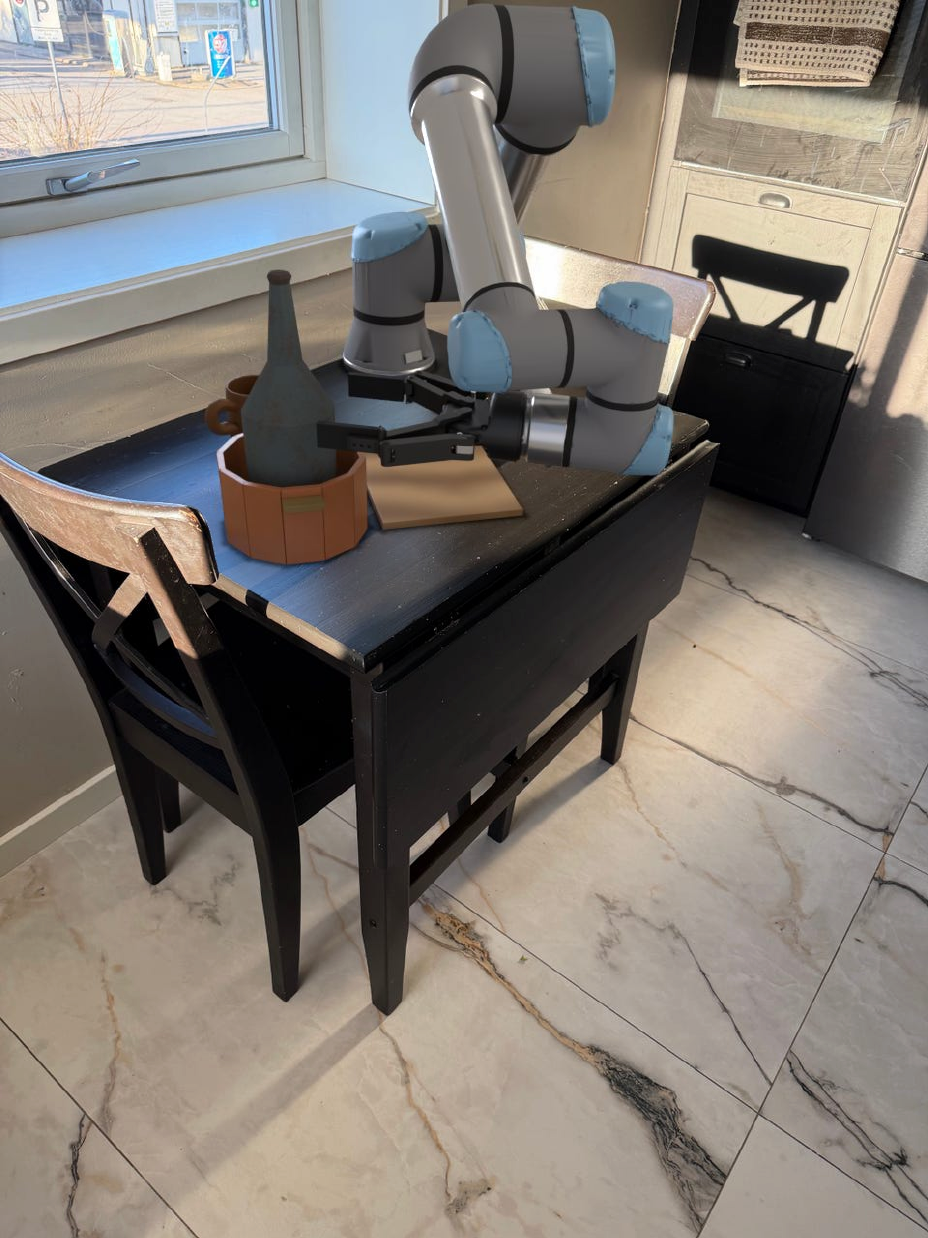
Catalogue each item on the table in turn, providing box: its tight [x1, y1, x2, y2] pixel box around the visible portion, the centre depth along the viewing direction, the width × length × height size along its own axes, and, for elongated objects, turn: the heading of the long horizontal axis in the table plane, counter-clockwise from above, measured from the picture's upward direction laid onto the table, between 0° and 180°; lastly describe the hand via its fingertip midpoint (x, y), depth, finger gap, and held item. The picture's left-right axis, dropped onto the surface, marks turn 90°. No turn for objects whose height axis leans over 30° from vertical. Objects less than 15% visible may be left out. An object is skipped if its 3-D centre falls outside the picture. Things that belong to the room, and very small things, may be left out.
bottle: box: [241, 269, 337, 488], centre depth 101 cm, size 10×10×30 cm
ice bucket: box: [215, 433, 368, 566], centre depth 107 cm, size 21×17×10 cm
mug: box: [204, 374, 260, 439], centre depth 121 cm, size 12×8×9 cm, turn 142°
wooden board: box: [364, 446, 524, 531], centre depth 120 cm, size 20×18×1 cm
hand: (333, 407), depth 100 cm, fingers open, 13 cm apart
